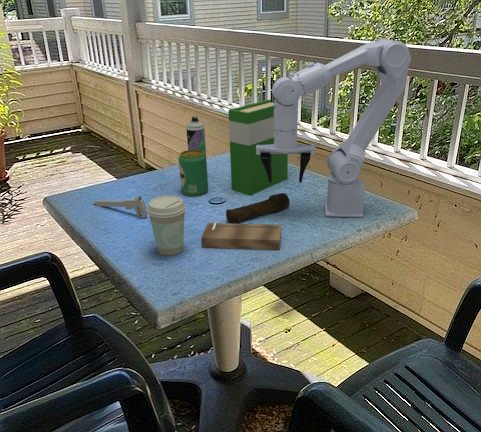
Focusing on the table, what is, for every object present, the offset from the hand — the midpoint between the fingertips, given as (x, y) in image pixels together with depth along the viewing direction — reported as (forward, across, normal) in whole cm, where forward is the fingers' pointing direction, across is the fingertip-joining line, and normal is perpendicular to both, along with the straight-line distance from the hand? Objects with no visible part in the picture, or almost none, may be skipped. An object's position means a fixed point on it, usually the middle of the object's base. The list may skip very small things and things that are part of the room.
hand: (285, 181), depth 123 cm
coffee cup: (+10, +26, +21) cm, 34 cm away
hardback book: (+10, +8, -22) cm, 25 cm away
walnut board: (+9, +10, +16) cm, 20 cm away
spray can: (+10, +28, -26) cm, 40 cm away
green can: (+10, +28, -15) cm, 33 cm away
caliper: (+10, +46, 0) cm, 47 cm away
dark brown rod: (+10, +7, 0) cm, 12 cm away
